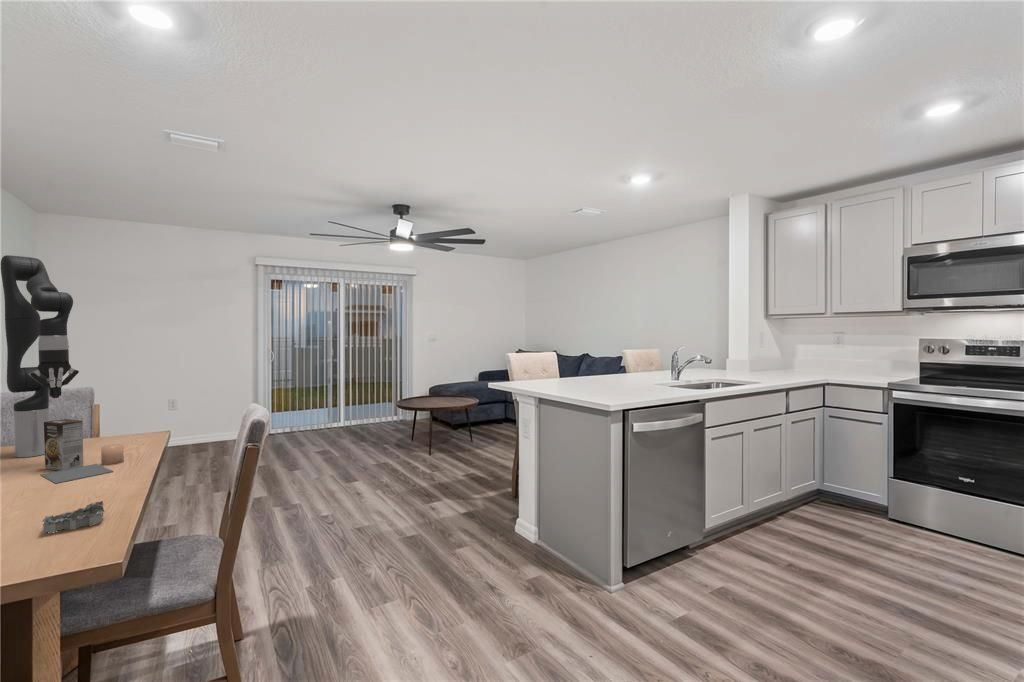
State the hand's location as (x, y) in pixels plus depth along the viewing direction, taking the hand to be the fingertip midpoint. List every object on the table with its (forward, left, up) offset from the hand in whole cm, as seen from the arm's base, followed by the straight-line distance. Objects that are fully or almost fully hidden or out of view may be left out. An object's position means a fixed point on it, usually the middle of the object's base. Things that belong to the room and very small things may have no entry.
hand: (55, 397), depth 162 cm
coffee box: (+8, 0, -24) cm, 25 cm away
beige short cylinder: (+15, +11, -23) cm, 30 cm away
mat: (+21, 0, -23) cm, 32 cm away
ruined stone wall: (+74, -14, -24) cm, 79 cm away
